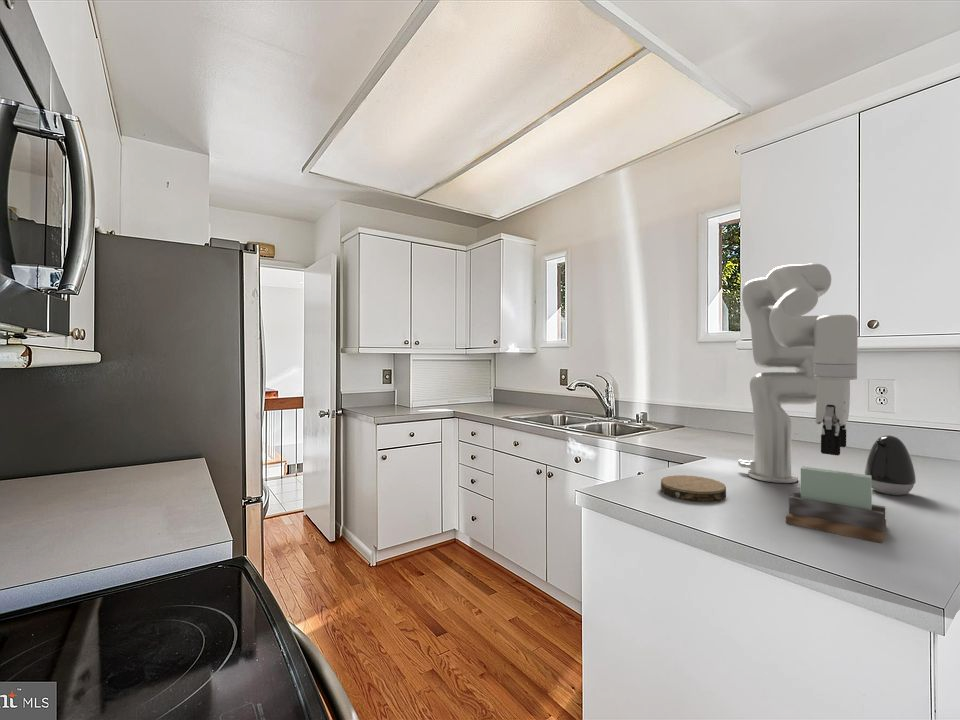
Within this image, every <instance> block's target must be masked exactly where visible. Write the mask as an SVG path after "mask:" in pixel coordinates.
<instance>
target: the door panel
mask: <svg viewBox="0 0 960 720" xmlns="http://www.w3.org/2000/svg"><path fill="white" fill-rule="evenodd" d="M872 490H873V488H872V476H870V475H865V474H864V473H863V474H862V473H855V472H854V473H853V472H846V471H839V470H832V469H825V468H816V467H810V466H809V467H808V466H801V468H800V493H801V498H805V499H810V500H816V501H822V502H828V503H833V504H839V505H845V506H850V507H856V508H862V509H868V510H872V505H873V504H872V501H873V499H872V496H873V495H872V494H873V493H872Z"/></svg>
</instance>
